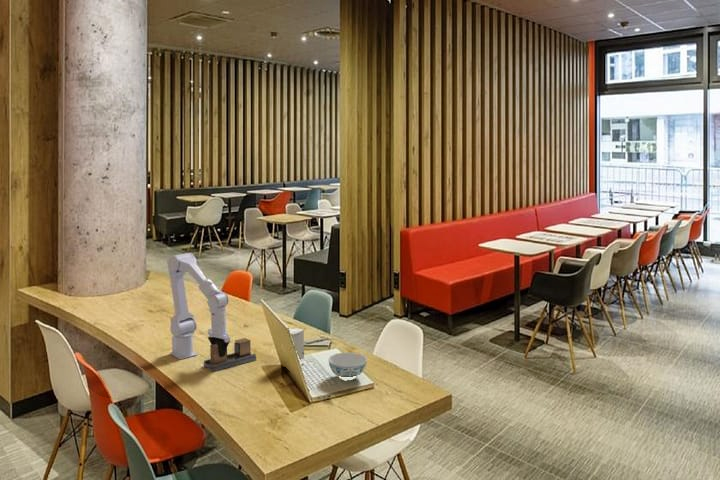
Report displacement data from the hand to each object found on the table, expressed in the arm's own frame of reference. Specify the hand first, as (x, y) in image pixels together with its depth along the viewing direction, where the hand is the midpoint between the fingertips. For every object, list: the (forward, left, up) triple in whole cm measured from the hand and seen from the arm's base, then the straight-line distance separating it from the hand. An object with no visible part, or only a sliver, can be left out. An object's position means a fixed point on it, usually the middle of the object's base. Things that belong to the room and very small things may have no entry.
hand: (219, 354), depth 238 cm
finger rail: (0, +5, -5) cm, 7 cm away
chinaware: (+44, +31, -5) cm, 54 cm away
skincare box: (+19, +23, -5) cm, 30 cm away
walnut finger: (0, 0, -3) cm, 3 cm away
